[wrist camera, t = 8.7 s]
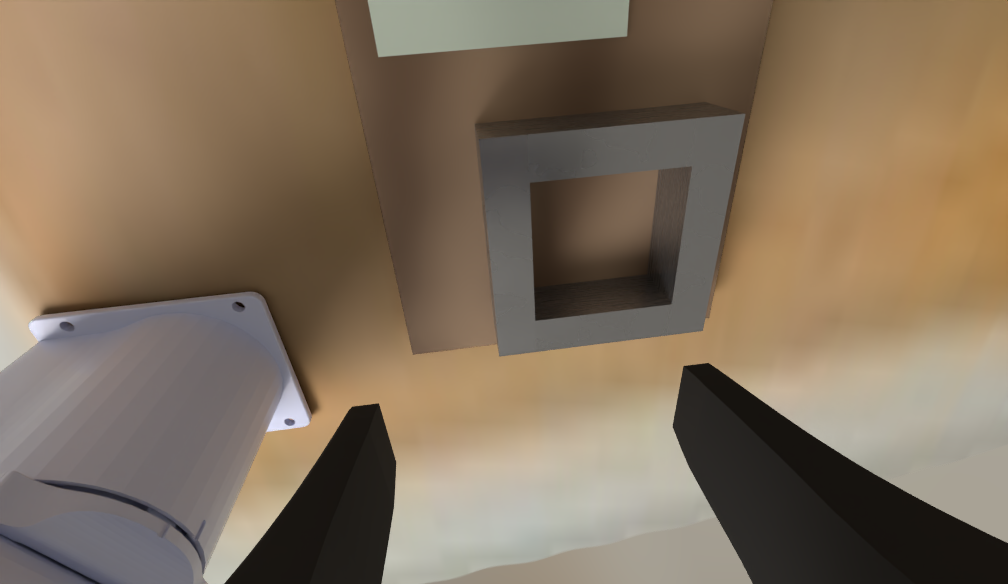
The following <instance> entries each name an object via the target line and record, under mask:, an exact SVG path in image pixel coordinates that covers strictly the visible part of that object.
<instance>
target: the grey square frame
mask: <svg viewBox="0 0 1008 584" xmlns="http://www.w3.org/2000/svg"><path fill="white" fill-rule="evenodd" d="M744 119H745V113H741V112H738V111H735V110H731V109H728V108H724V107H721V106H717V105H714V104H710V103H707V102H702V103H692V104H681V105H670V106H659V107H649V108H638V109H627V110H617V111H606V112H595V113H585V114H574V115H563V116H553V117H542V118H531V119H521V120H510V121H499V122H489V123H478V124H474V127H475V137H476V147H477V157H478V167H479V178H480V188H481V198H482V208H483V218H484V229H485V239H486V249H487V259H488V270H489V280H490V290H491V300H492V310H493V321H494V327H495V333H496V339H497V345H498V351H499V356H507V355H514V354H522V353H530V352H538V351H546V350H554V349H562V348H570V347H578V346H586V345H594V344H602V343H610V342H618V341H626V340H634V339H642V338H650V337H658V336H665V335H673V334H681V333H689V332H697V331H703V327H704V322H705V317H706V311H707V306H708V301H709V296H710V291H711V286H712V281H713V276H714V271H715V266H716V261H717V256H718V251H719V246H720V240H721V235H722V230H723V225H724V220H725V215H726V210H727V205H728V200H729V195H730V190H731V185H732V180H733V174H734V169H735V164H736V159H737V154H738V149H739V144H740V139H741V134H742V129H743V124H744ZM650 170H658V180H657V189H656V198H655V207H654V216H653V225H652V234H651V244H650V253H649V262H648V271H647V274H644V275H635V276H627V277H618V278H610V279H601V280H593V281H584V282H576V283H567V284H559V285H550V286H541V287H534V276H533V251H532V226H531V201H530V183H533V182H543V181H553V180H563V179H572V178H582V177H592V176H602V175H611V174H621V173H631V172H641V171H650Z"/></svg>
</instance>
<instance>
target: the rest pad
mask: <svg viewBox="0 0 1008 584" xmlns="http://www.w3.org/2000/svg"><path fill="white" fill-rule="evenodd" d="M368 5H369V10H370V15H371V21H372V26H373V31H374V37H375V42H376V47H377V52H378V57H386V56H398V55H410V54H422V53H434V52H446V51H458V50H470V49H482V48H494V47H506V46H518V45H530V44H542V43H554V42H566V41H578V40H590V39H602V38H614V37H626V36H627V28H628V12H629V0H368Z"/></svg>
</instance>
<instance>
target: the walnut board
mask: <svg viewBox="0 0 1008 584" xmlns="http://www.w3.org/2000/svg"><path fill="white" fill-rule="evenodd" d="M335 3H336V8H337V12H338V17H339V21H340V26H341V30H342V35H343V39H344V44H345V48H346V53H347V58H348V62H349V67H350V71H351V76H352V80H353V85H354V89H355V94H356V98H357V103H358V107H359V112H360V116H361V121H362V125H363V130H364V135H365V139H366V144H367V148H368V153H369V157H370V162H371V166H372V171H373V175H374V180H375V184H376V189H377V193H378V198H379V203H380V207H381V212H382V216H383V221H384V225H385V230H386V234H387V239H388V243H389V248H390V252H391V257H392V261H393V266H394V270H395V275H396V280H397V284H398V289H399V293H400V298H401V302H402V307H403V311H404V316H405V320H406V325H407V329H408V334H409V338H410V343H411V347H412V352H413V355H414V354H422V353H430V352H438V351H446V350H454V349H462V348H470V347H478V346H486V345H494V344H497V339H496V333H495V327H494V321H493V310H492V300H491V290H490V280H489V270H488V259H487V249H486V239H485V229H484V218H483V208H482V198H481V188H480V178H479V167H478V157H477V147H476V137H475V127H474V124H478V123H489V122H499V121H510V120H521V119H531V118H542V117H553V116H563V115H574V114H585V113H595V112H606V111H617V110H627V109H638V108H649V107H659V106H670V105H681V104H692V103H702V102H707V103H710V104H714V105H717V106H721V107H724V108H728V109H731V110H735V111H738V112H741V113H745V119H744V124H743V129H742V134H741V139H740V144H739V149H738V154H737V159H736V164H735V169H734V174H733V180H732V185H731V190H730V195H729V200H728V205H727V210H726V215H725V220H724V225H723V230H722V235H721V240H720V246H719V251H718V256H717V261H716V266H715V271H714V276H713V281H712V286H711V291H710V296H709V301H708V306H707V311H706V317H705V318H709V316H710V311H711V306H712V301H713V296H714V291H715V286H716V281H717V276H718V271H719V266H720V261H721V256H722V251H723V246H724V241H725V237H726V232H727V227H728V222H729V217H730V212H731V207H732V202H733V197H734V192H735V187H736V182H737V177H738V172H739V167H740V162H741V157H742V153H743V148H744V143H745V138H746V133H747V128H748V123H749V118H750V113H751V108H752V103H753V98H754V93H755V88H756V83H757V78H758V73H759V69H760V64H761V59H762V54H763V49H764V44H765V39H766V34H767V29H768V24H769V19H770V14H771V9H772V4H773V0H629V12H628V28H627V36H626V37H614V38H602V39H590V40H578V41H566V42H554V43H542V44H530V45H518V46H506V47H494V48H482V49H470V50H458V51H446V52H434V53H422V54H410V55H398V56H386V57H378V52H377V47H376V42H375V37H374V31H373V26H372V21H371V15H370V10H369V5H368V0H335ZM657 180H658V170H650V171H641V172H631V173H621V174H611V175H602V176H592V177H582V178H572V179H563V180H553V181H543V182H533V183H530V201H531V226H532V251H533V276H534V287H541V286H550V285H559V284H567V283H576V282H584V281H593V280H601V279H610V278H618V277H627V276H635V275H644V274H647V271H648V262H649V253H650V244H651V234H652V225H653V216H654V207H655V198H656V189H657Z"/></svg>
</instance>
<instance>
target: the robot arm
mask: <svg viewBox="0 0 1008 584" xmlns="http://www.w3.org/2000/svg"><path fill="white" fill-rule="evenodd" d="M236 302H241V303H242V304H244V306H245V307H240V306H238V305H237V304H236ZM68 322H69V323H71V324H72V325H73V326H72V325H70V324H69V323H68ZM28 327H29V329H30V331H31V332H32V334H33V335H34V336H35V338H36V339H37V340H38V343H37V344H36V345H35V346H33V347H32V348H31V349H29V350H28V351H27V352H26V353H24V354H23V355H22V356H20V357H19V358H18V359H17V360H15V361H14V362H13V363H11V364H10V365H9V366H7V367H6V368H5V369H4V370H2V371H1V372H0V584H208V583H207V582H206V581H205V580H204V578H203V574H204V572H205V569H206V567H207V565H208V563H209V560H210V558H211V556H212V554H213V551H214V549H215V547H216V544H217V542H218V540H219V538H220V535H221V533H222V531H223V529H224V526H225V524H226V522H227V520H228V517H229V515H230V513H231V511H232V508H233V506H234V504H235V501H236V499H237V497H238V495H239V492H240V490H241V488H242V486H243V483H244V481H245V479H246V477H247V474H248V472H249V470H250V468H251V465H252V463H253V461H254V458H255V456H256V454H257V452H258V449H259V447H260V445H261V443H262V440H263V438H264V436H265V434H266V432H268V431H276V430H283V429H291V428H299V427H304V426H307V425H308V424H309V423H310V421H311V418H312V414H311V412H310V409H309V407H308V405H307V402H306V400H305V397H304V395H303V392H302V390H301V387H300V385H299V382H298V380H297V377H296V375H295V372H294V370H293V368H292V365H291V363H290V360H289V358H288V355H287V353H286V350H285V348H284V345H283V343H282V340H281V338H280V335H279V333H278V331H277V328H276V326H275V323H274V321H273V318H272V316H271V313H270V311H269V308H268V306H267V303H266V301H265V299H264V298H263V296H261V295H260V294H259V293H256V292H241V293H232V294H224V295H215V296H206V297H197V298H188V299H179V300H171V301H162V302H153V303H144V304H135V305H126V306H118V307H109V308H100V309H91V310H82V311H73V312H64V313H56V314H47V315H40V316H37V317H35V318H34V319H33V320H31V321H30V322H29V325H28ZM288 418H291V419H293V420H290V419H288ZM673 429H674V431H675V434H676V436H677V439H678V441H679V444H680V446H681V449H682V451H683V454H684V456H685V458H686V461H687V463H688V465H689V468H690V469H691V471H692V473H693V475H694V477H695V479H696V481H697V482H698V484H699V486H700V488H701V490H702V491H703V493H704V495H705V497H706V499H707V500H708V502H709V504H710V506H711V508H712V509H713V511H714V513H715V515H716V517H717V518H718V520H719V522H720V524H721V525H722V527H723V529H724V531H725V532H726V534H727V536H728V538H729V540H730V541H731V543H732V545H733V547H734V549H735V550H736V552H737V554H738V556H739V558H740V559H741V561H742V563H743V565H744V567H745V569H746V571H747V573H748V575H749V577H750V579H751V581H752V583H753V584H1008V543H1006V542H1004V541H1002V540H1000V539H998V538H996V537H993V536H991V535H989V534H987V533H985V532H983V531H981V530H979V529H977V528H975V527H973V526H971V525H969V524H967V523H965V522H963V521H961V520H959V519H957V518H955V517H953V516H951V515H949V514H947V513H945V512H943V511H941V510H939V509H937V508H935V507H933V506H931V505H929V504H927V503H926V502H924V501H922V500H920V499H918V498H916V497H914V496H912V495H911V494H909V493H907V492H905V491H903V490H901V489H900V488H898V487H896V486H895V485H893V484H891V483H889V482H887V481H886V480H884V479H882V478H880V477H878V476H877V475H875V474H873V473H871V472H870V471H868V470H866V469H865V468H863V467H861V466H860V465H858V464H856V463H855V462H853V461H851V460H850V459H848V458H847V457H845V456H843V455H842V454H840V453H839V452H837V451H835V450H834V449H832V448H831V447H829V446H827V445H826V444H824V443H823V442H821V441H820V440H818V439H817V438H815V437H813V436H812V435H810V434H809V433H807V432H806V431H804V430H803V429H801V428H800V427H798V426H797V425H796V424H794V423H793V422H791V421H790V420H788V419H787V418H785V417H784V416H782V415H781V414H780V413H778V412H777V411H775V410H774V409H772V408H771V407H770V406H768V405H767V404H765V403H764V402H763V401H761V400H760V399H758V398H757V397H756V396H754V395H753V394H751V393H750V392H749V391H747V390H746V389H744V388H743V387H742V386H740V385H739V384H738V383H736V382H735V381H733V380H732V379H731V378H729V377H728V376H726V375H725V374H724V373H722V372H721V371H719V370H718V369H716V368H715V367H714V366H712V365H711V364H709V363H705V364H697V365H689V366H684V367H683V372H682V378H681V383H680V389H679V394H678V400H677V405H676V411H675V416H674V422H673ZM395 477H396V460H395V457H394V453H393V450H392V447H391V443H390V440H389V436H388V433H387V430H386V426H385V423H384V419H383V416H382V412H381V409H380V406H379V404H371V405H363V406H355V407H352V408H351V409H350V410H349V411H348V413H347V414H346V416H345V417H344V419H343V421H342V422H341V424H340V426H339V427H338V429H337V430H336V432H335V434H334V435H333V437H332V438H331V440H330V442H329V443H328V445H327V446H326V448H325V449H324V451H323V452H322V454H321V456H320V457H319V459H318V460H317V462H316V463H315V465H314V466H313V468H312V469H311V471H310V472H309V474H308V475H307V476H306V478H305V479H304V481H303V482H302V484H301V485H300V487H299V488H298V490H297V491H296V493H295V494H294V495H293V497H292V498H291V500H290V501H289V502H288V504H287V505H286V506H285V508H284V509H283V510H282V512H281V513H280V514H279V516H278V517H277V518H276V520H275V521H274V522H273V524H272V525H271V526H270V528H269V529H268V531H267V532H266V533H265V535H264V536H263V537H262V538H261V540H260V541H259V542H258V543H257V545H256V546H255V547H254V548H253V550H252V551H251V552H250V554H249V555H248V556H247V557H246V558H245V560H244V561H243V562H242V563H241V564H240V566H239V567H238V568H237V569H236V570H235V572H234V573H233V574H232V575H231V576H230V577H229V579H228V580H227V581H226V582H225V583H224V584H381V582H382V576H383V570H384V564H385V558H386V552H387V546H388V540H389V534H390V528H391V522H392V515H393V509H394V496H395Z"/></svg>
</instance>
